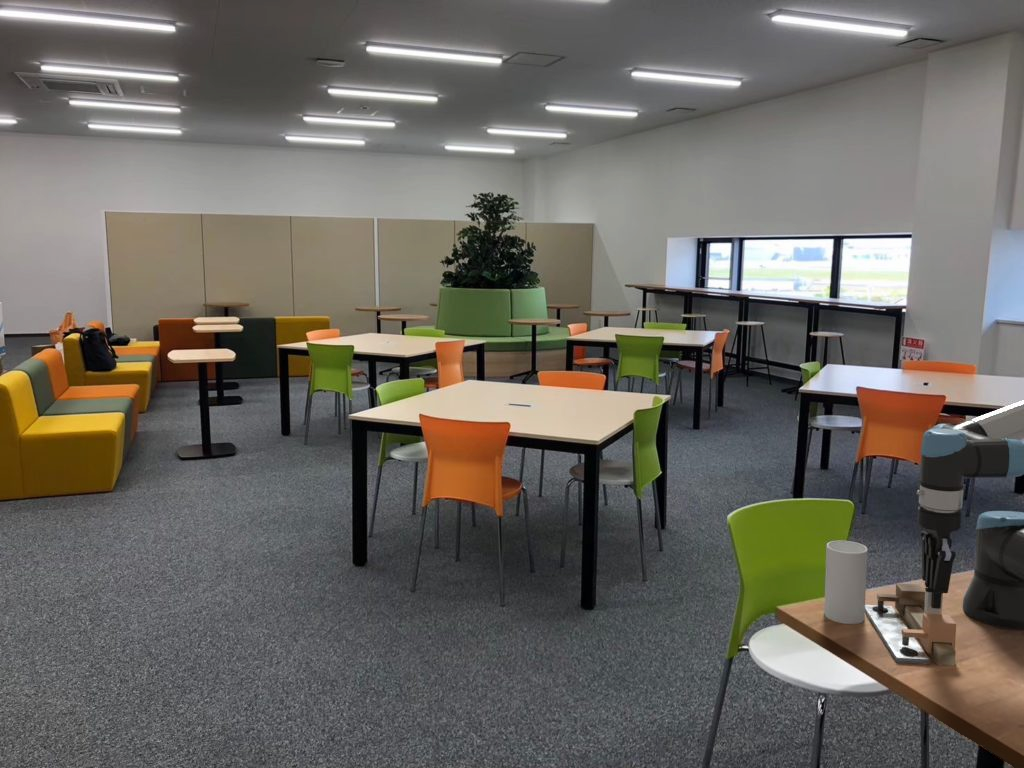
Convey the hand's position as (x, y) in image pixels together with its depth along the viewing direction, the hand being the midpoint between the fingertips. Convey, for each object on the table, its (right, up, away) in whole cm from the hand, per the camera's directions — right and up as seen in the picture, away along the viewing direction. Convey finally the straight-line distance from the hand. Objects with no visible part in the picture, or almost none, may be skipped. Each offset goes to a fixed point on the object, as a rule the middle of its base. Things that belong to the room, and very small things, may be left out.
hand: (932, 620), depth 158 cm
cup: (-11, -4, +16) cm, 20 cm away
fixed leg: (+1, -3, +15) cm, 16 cm away
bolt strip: (-5, -5, +7) cm, 9 cm away
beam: (+1, -5, +5) cm, 7 cm away
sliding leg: (-2, -5, -2) cm, 6 cm away
